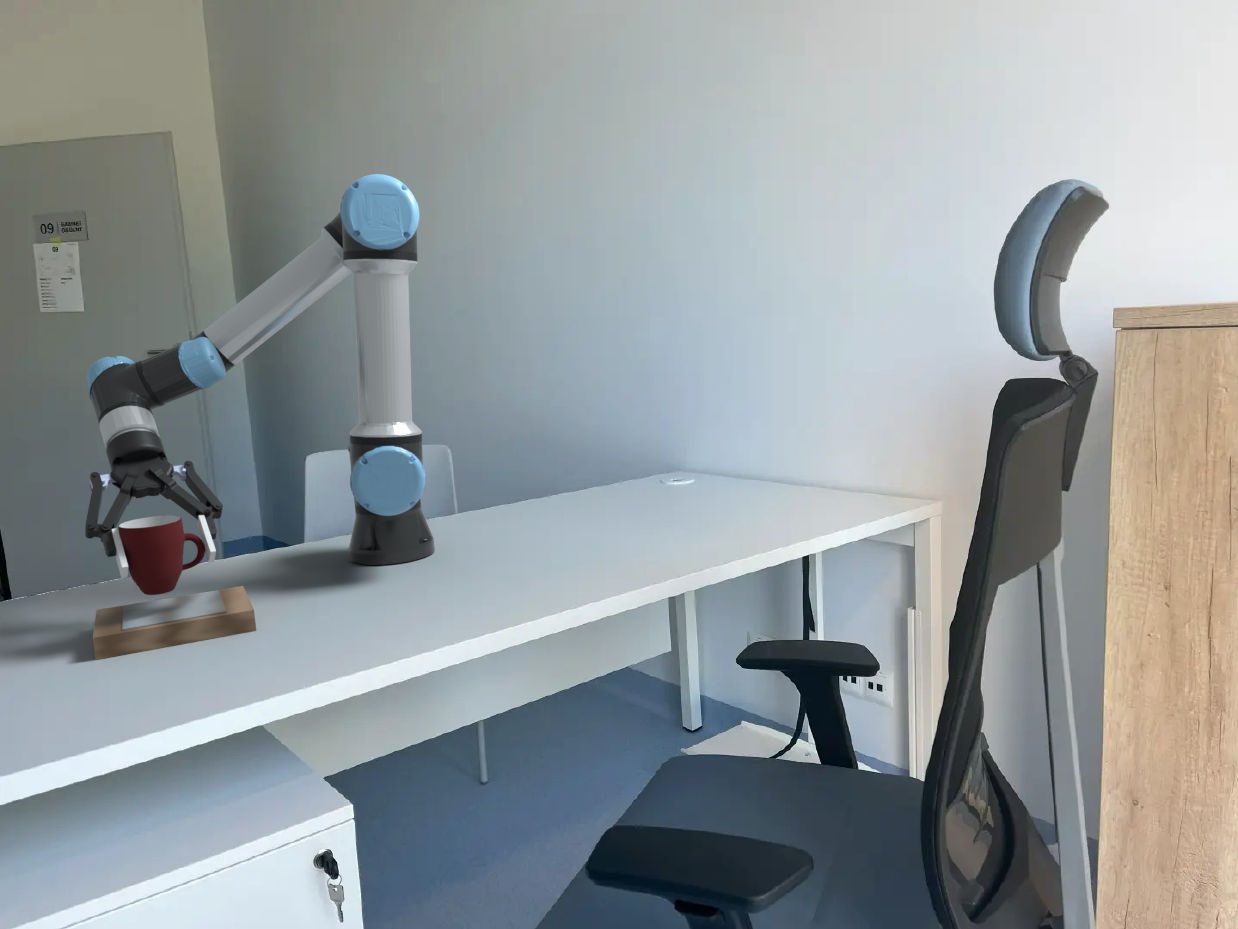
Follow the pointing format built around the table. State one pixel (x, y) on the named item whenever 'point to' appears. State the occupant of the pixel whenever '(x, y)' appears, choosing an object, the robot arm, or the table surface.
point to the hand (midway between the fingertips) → (169, 564)
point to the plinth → (172, 621)
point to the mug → (157, 552)
